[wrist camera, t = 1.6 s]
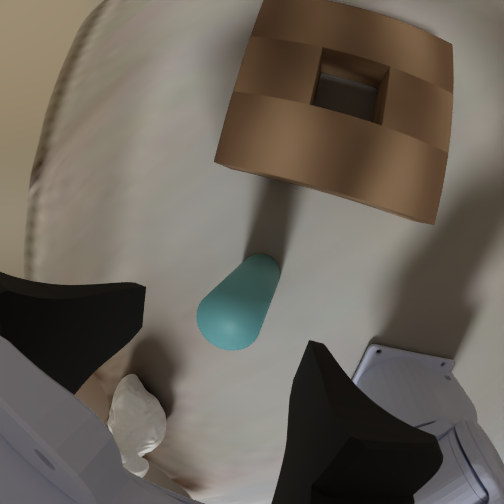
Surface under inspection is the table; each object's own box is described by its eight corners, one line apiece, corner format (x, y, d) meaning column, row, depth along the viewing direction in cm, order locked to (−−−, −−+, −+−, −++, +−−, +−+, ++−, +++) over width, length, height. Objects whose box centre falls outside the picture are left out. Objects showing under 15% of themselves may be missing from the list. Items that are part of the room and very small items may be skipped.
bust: (155, 425, 30) (179, 496, 20) (99, 424, 26) (111, 499, 16) (162, 360, 27) (192, 445, 18) (93, 355, 23) (96, 447, 14)
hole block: (434, 64, 15) (452, 44, 11) (411, 220, 18) (434, 225, 14) (273, 20, 17) (266, -8, 13) (231, 169, 20) (213, 161, 16)
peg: (284, 260, 21) (268, 301, 12) (274, 297, 21) (251, 358, 12) (245, 249, 21) (202, 281, 12) (236, 286, 22) (192, 338, 13)
